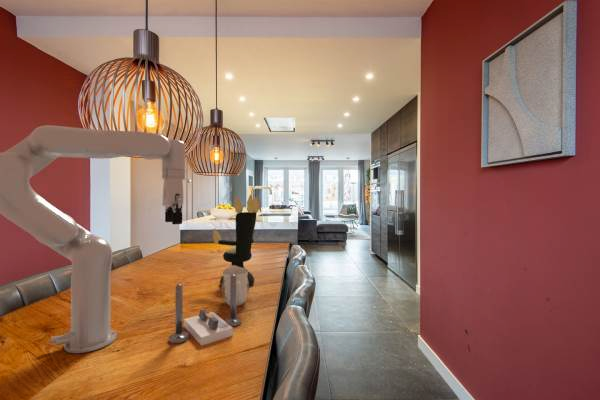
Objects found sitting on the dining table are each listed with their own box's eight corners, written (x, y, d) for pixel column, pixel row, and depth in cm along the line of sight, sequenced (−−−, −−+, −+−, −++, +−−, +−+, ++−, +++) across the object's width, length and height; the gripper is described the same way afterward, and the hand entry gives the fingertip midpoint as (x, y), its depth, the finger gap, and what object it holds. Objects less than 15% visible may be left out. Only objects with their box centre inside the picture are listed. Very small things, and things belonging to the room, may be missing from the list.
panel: (201, 345, 85) (201, 337, 85) (184, 326, 98) (184, 318, 98) (232, 335, 91) (232, 327, 91) (212, 318, 104) (212, 311, 104)
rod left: (171, 346, 85) (171, 288, 85) (166, 338, 89) (166, 283, 89) (191, 340, 88) (191, 284, 88) (185, 333, 93) (185, 280, 93)
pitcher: (224, 314, 108) (224, 277, 108) (219, 298, 125) (219, 266, 124) (253, 310, 112) (254, 274, 112) (245, 295, 129) (245, 264, 128)
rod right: (229, 328, 96) (229, 277, 96) (222, 322, 101) (222, 274, 100) (244, 324, 100) (244, 274, 100) (236, 318, 104) (236, 271, 104)
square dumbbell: (212, 329, 89) (213, 321, 90) (198, 316, 99) (200, 309, 99) (217, 328, 90) (218, 320, 91) (203, 316, 100) (204, 309, 100)
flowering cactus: (243, 276, 158) (244, 193, 157) (269, 285, 142) (270, 194, 142) (211, 283, 145) (212, 193, 144) (236, 294, 129) (236, 193, 128)
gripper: (156, 175, 108) (156, 221, 108) (168, 173, 95) (168, 225, 95) (178, 176, 113) (177, 220, 113) (192, 174, 99) (191, 224, 99)
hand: (173, 223), depth 104 cm, fingers open, 9 cm apart
